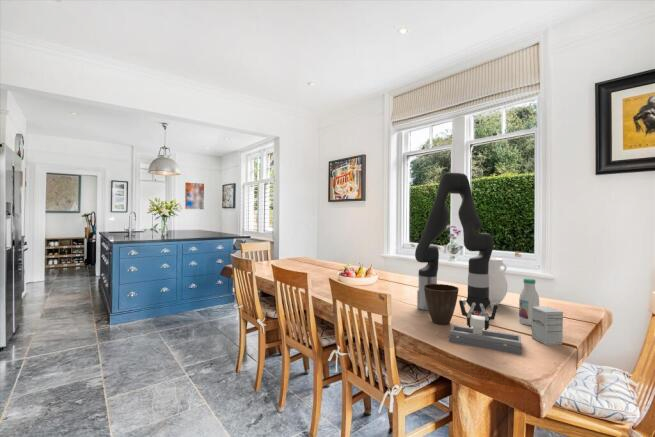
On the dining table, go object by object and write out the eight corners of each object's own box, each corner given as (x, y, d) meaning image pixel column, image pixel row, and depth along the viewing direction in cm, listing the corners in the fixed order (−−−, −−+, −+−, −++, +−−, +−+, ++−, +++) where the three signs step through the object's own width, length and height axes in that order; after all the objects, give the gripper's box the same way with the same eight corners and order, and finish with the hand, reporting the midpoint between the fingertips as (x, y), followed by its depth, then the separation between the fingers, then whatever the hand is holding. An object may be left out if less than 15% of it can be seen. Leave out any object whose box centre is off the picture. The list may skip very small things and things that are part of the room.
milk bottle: (536, 321, 150) (536, 278, 150) (541, 327, 143) (541, 281, 142) (517, 319, 152) (517, 277, 152) (521, 325, 145) (521, 280, 145)
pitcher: (508, 302, 183) (509, 257, 182) (506, 310, 167) (506, 261, 167) (472, 297, 193) (472, 255, 192) (466, 305, 177) (467, 258, 177)
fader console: (449, 341, 126) (449, 332, 126) (453, 331, 137) (453, 323, 137) (521, 354, 115) (521, 344, 115) (520, 342, 125) (520, 333, 125)
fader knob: (470, 336, 126) (470, 318, 126) (471, 332, 130) (471, 314, 130) (484, 338, 123) (484, 320, 123) (485, 334, 128) (485, 316, 128)
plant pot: (416, 319, 153) (417, 285, 153) (441, 315, 159) (442, 282, 158) (439, 329, 139) (439, 292, 139) (465, 325, 145) (466, 289, 145)
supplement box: (531, 337, 130) (531, 306, 130) (548, 337, 131) (548, 305, 131) (544, 345, 123) (545, 311, 123) (563, 344, 123) (563, 311, 123)
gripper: (457, 284, 127) (456, 328, 127) (498, 288, 120) (498, 334, 120) (459, 280, 133) (459, 322, 134) (499, 284, 126) (499, 328, 127)
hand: (477, 328), depth 127 cm, fingers closed on fader knob, 5 cm apart
